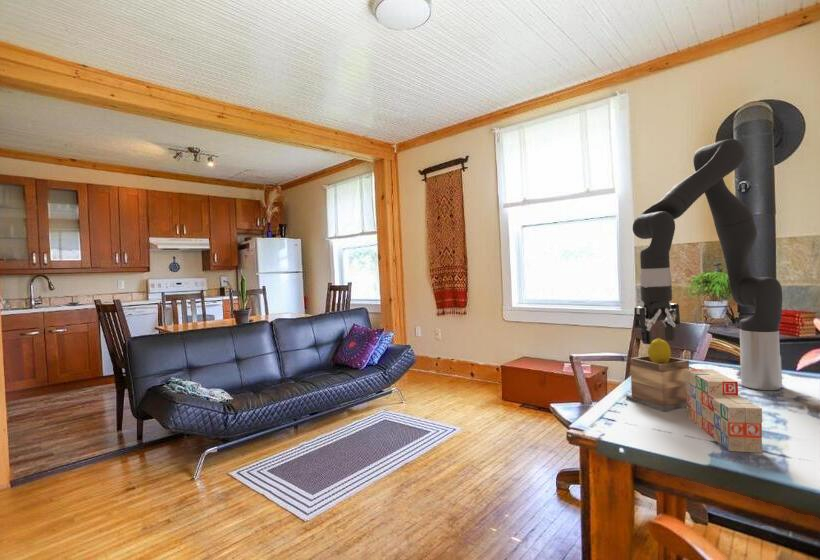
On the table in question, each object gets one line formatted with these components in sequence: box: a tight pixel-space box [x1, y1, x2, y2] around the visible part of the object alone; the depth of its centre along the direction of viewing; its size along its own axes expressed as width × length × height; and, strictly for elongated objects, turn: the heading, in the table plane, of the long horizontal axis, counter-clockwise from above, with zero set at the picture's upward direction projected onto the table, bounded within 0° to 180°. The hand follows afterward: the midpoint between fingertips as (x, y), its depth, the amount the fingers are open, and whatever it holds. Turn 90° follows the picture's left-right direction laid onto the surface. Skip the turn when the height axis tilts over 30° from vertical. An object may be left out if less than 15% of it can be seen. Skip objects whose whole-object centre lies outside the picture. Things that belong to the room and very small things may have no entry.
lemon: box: [647, 337, 672, 364], centre depth 117 cm, size 6×6×8 cm
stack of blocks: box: [685, 368, 763, 454], centre depth 95 cm, size 21×6×12 cm, turn 166°
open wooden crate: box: [625, 355, 690, 412], centre depth 118 cm, size 12×12×12 cm
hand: (658, 342), depth 117 cm, fingers open, 8 cm apart
